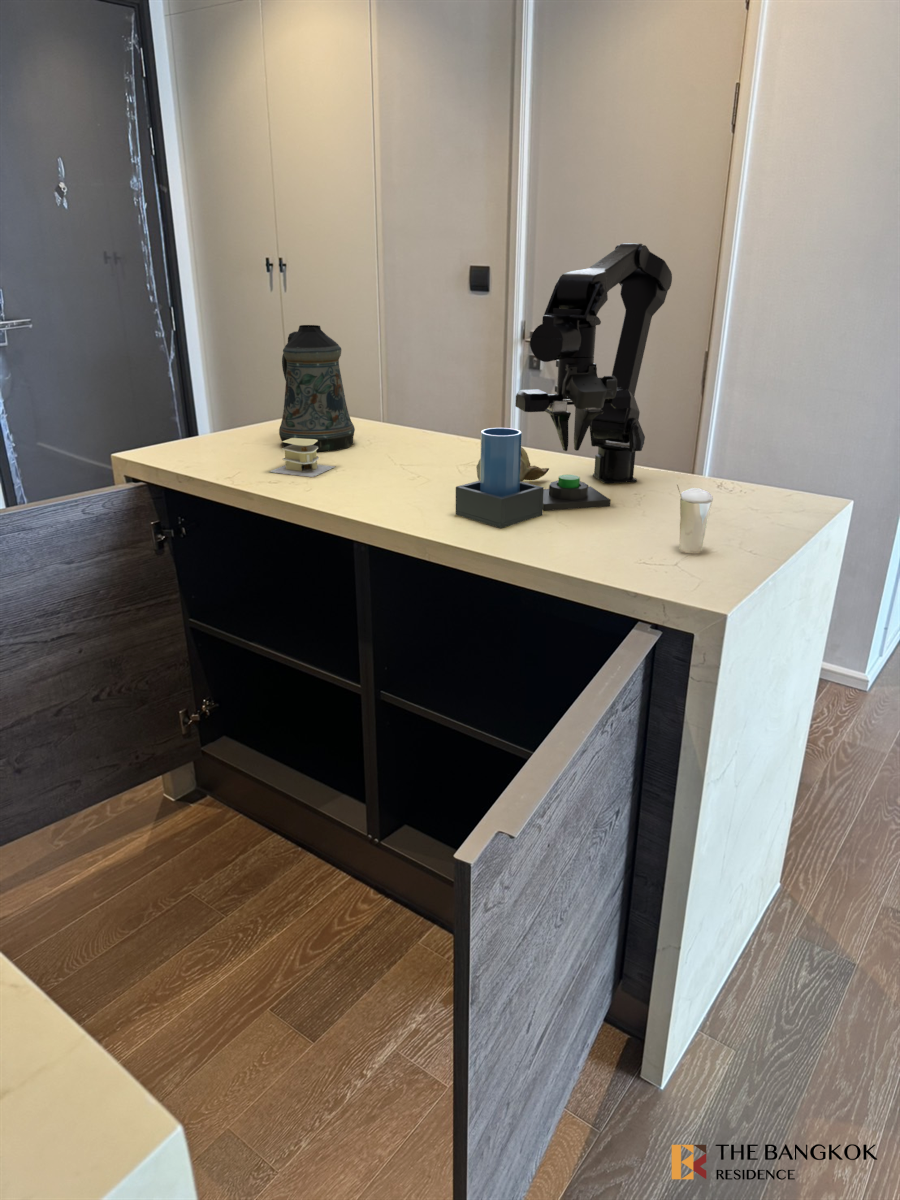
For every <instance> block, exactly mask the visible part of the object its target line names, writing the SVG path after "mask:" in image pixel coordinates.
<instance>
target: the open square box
mask: <svg viewBox="0 0 900 1200" xmlns="http://www.w3.org/2000/svg"><path fill="white" fill-rule="evenodd" d="M544 489H545V487H544V486H540V485H536V484H532V483H528V482H524V481H521V482H520V492H518V493H514V494H511V495H507V496H504V497H499V496H496V495H492V494H488V493H485V492H481V491H480V481H479V480H476V481H472V482H469V483H464V484H462V485H457V486H455V516H459V517H462V518H465V519H468V520H471V521H475V522H479V523H481V524H485V525H488V526H491V527H495V528H499V529H504V528H507V527H510V526H513V525H517V524H519V523H523V522H526V521H529V520H532V519H536V518H538V517H542V516H543V514H544V513H543V512H544V511H543V491H544Z"/></svg>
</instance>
